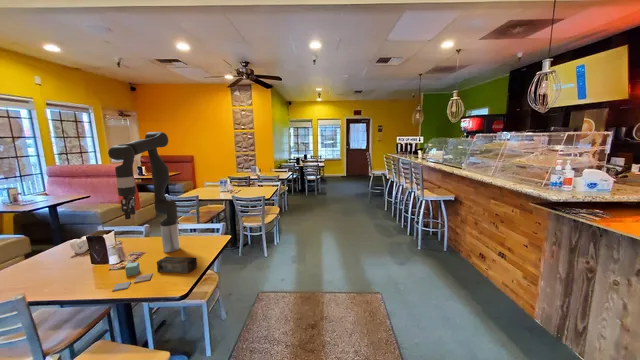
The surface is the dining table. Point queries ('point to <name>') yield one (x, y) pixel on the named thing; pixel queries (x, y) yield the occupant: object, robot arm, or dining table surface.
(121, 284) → the pad
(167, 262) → the beverage carton
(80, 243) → the white crumpled lump
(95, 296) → the dining table surface
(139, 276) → the pad
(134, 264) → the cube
